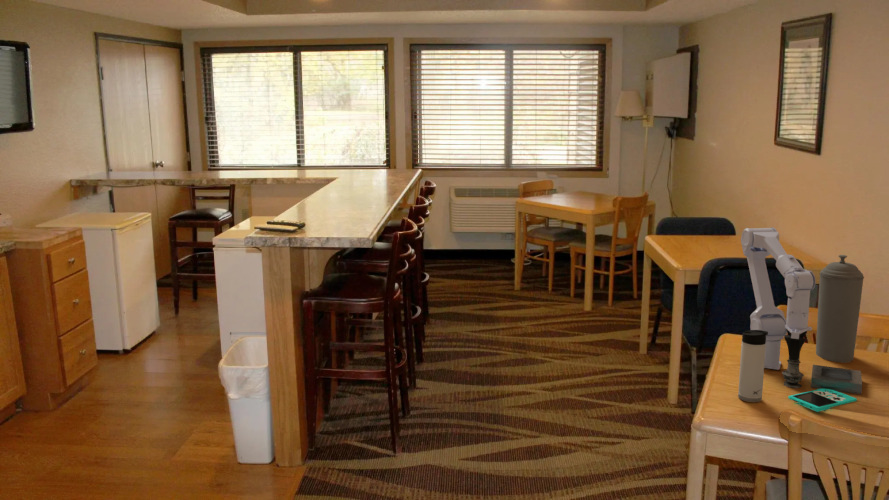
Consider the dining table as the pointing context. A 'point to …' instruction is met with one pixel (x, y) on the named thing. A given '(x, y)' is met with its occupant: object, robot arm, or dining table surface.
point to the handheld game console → (821, 399)
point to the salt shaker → (792, 374)
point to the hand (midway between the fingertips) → (794, 356)
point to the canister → (838, 311)
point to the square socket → (836, 379)
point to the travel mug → (752, 365)
